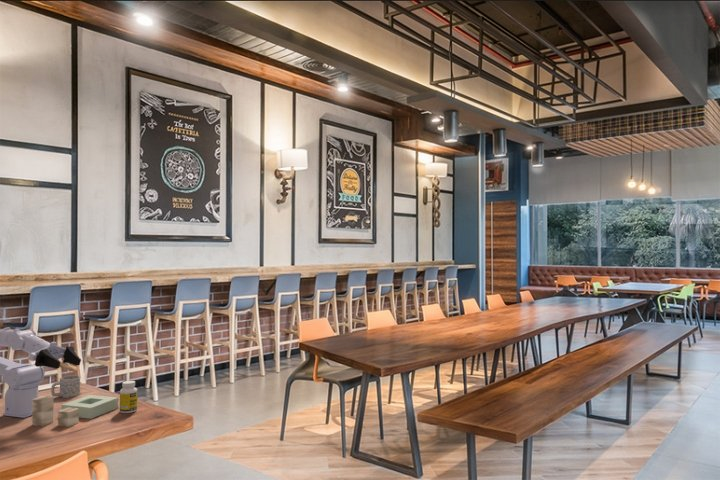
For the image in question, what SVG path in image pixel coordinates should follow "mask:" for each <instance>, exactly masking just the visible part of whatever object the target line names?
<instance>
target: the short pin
mask: <svg viewBox="0 0 720 480" xmlns="http://www.w3.org/2000/svg"><path fill="white" fill-rule="evenodd" d="M79 419H80V417H79V408H70V407H68V408H65V409H63V410H62V409H60V410H58V411H57V426H59V427H67V428H69V427H71V426H73V425H74V426H75V425H76V424H78V423H80V420H79Z"/></svg>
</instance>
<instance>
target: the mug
mask: <svg viewBox="0 0 720 480" xmlns="http://www.w3.org/2000/svg"><path fill="white" fill-rule="evenodd" d="M56 386H59V392H57V393H56V392H55V389H56V388H55V387H56ZM50 391H51V392H50V393H51V397H59V398H61V397H62V399H67V398H68V399H69V398H75V397H79V396H80V395H81V376H80V375H73V374H72V375H66V376H61V377H60V378H59V381H57V382H53V383H52V384H51V390H50Z"/></svg>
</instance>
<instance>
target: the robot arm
mask: <svg viewBox="0 0 720 480" xmlns="http://www.w3.org/2000/svg"><path fill="white" fill-rule="evenodd" d="M57 344H58V342H56V341H51V342H49V341H46V340H45V339H43V338H42V337H40V336H37V334H36V332H35V330H33V329H30V328H28V329H25V330H20V328H14V329H11V327H9V326H8V327H4V328H3V329H0V347H9V348H11V350H13V351H17V350H19V351H23V352H26V353H28V357H27V358H28V359H27V360H29V361H31V362H35V363H34V364H32V363H18V362H17V361H16V362H15V361H13V360H10V359H7V358H6V357H2V356H0V376H1V377H2V380H3V383H5V384H6V385H7V386H8V387H9V388H8V389H6V391H5V395H4V413H2V414H1V415H2V416H6V417H14V418H22V419H24V418H28V417H30V416H32V399H35V398H38V397H39V386H40V385H41V382H42V381H43V380H44V378H45V369H44V367H47V368H52V369H59V368H60V365H61V360H60V359H63V361H62V364H70V365H74V366H80V365H81V363H82V362H81V361H82V359H81V358H80V356H78V355H77V353H76V351H75V347H74V346H70V345H69V346H66V347H61V346H60V345H57Z"/></svg>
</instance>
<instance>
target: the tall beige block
mask: <svg viewBox="0 0 720 480" xmlns="http://www.w3.org/2000/svg"><path fill="white" fill-rule="evenodd" d="M31 416H32V417H31V419H32V420H31V423H32V425H31V426H37V427H45V426H47V425H50V424H52V423H54V396H48V395H42V396H38V398H35V399H32V415H31Z"/></svg>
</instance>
